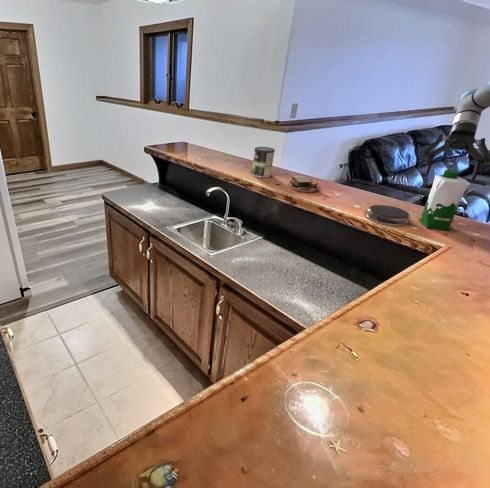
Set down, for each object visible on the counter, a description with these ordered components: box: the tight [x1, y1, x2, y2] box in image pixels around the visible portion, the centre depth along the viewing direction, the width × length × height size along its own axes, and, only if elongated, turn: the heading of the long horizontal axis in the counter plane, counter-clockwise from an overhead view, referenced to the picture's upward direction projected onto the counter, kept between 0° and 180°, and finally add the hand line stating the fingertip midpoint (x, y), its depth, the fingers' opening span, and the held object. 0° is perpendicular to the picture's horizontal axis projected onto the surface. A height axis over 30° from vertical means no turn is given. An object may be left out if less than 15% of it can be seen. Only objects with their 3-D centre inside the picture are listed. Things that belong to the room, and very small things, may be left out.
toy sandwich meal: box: [289, 175, 319, 193], centre depth 167 cm, size 12×14×5 cm
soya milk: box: [419, 169, 471, 232], centre depth 125 cm, size 9×9×20 cm
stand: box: [365, 204, 411, 228], centre depth 134 cm, size 14×14×4 cm
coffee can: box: [251, 146, 276, 179], centre depth 185 cm, size 10×10×14 cm
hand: (450, 175), depth 127 cm, fingers open, 13 cm apart
